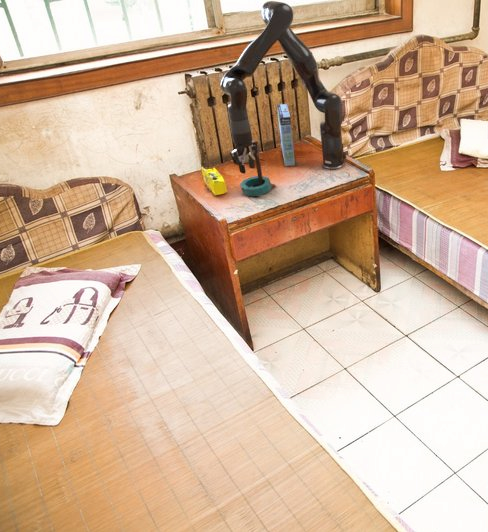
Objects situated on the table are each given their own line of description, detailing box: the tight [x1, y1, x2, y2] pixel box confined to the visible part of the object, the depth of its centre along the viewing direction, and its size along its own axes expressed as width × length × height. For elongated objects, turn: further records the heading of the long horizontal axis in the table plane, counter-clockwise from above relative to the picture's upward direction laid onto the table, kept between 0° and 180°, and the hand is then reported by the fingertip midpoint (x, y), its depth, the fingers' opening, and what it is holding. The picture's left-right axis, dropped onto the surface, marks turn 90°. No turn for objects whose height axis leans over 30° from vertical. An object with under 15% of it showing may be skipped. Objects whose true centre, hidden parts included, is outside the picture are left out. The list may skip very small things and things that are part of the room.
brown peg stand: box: [251, 153, 276, 191], centre depth 227 cm, size 8×8×15 cm
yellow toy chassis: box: [201, 166, 228, 196], centre depth 229 cm, size 16×6×8 cm, turn 31°
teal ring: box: [240, 175, 272, 197], centre depth 227 cm, size 12×12×3 cm
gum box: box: [276, 103, 296, 167], centre depth 252 cm, size 20×5×23 cm, turn 13°
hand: (247, 170), depth 220 cm, fingers open, 5 cm apart
